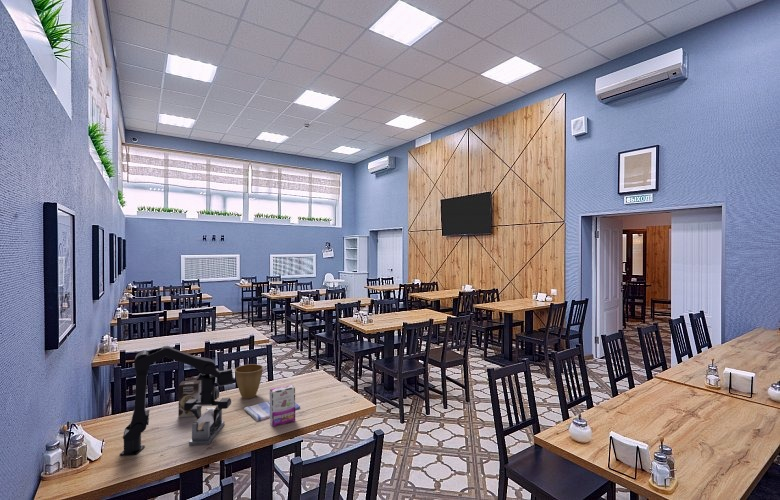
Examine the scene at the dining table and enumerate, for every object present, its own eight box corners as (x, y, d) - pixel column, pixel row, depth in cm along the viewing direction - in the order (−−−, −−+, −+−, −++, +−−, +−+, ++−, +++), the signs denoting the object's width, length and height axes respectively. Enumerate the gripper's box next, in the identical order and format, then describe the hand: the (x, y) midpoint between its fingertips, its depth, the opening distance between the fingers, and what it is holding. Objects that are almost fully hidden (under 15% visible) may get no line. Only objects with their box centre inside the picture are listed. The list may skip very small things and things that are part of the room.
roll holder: (208, 444, 157) (208, 424, 157) (188, 445, 156) (189, 425, 156) (224, 423, 176) (224, 405, 176) (206, 424, 175) (206, 406, 175)
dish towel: (243, 411, 191) (243, 406, 191) (286, 399, 206) (286, 394, 206) (255, 423, 178) (255, 417, 178) (300, 409, 193) (300, 404, 193)
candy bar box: (292, 417, 183) (292, 384, 183) (295, 421, 179) (295, 387, 179) (269, 423, 177) (269, 388, 177) (272, 427, 172) (272, 391, 173)
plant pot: (228, 399, 205) (228, 370, 205) (248, 390, 219) (248, 362, 219) (249, 403, 199) (249, 373, 200) (268, 393, 213) (268, 365, 213)
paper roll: (206, 435, 157) (206, 421, 157) (191, 435, 157) (191, 421, 157) (221, 416, 175) (221, 403, 175) (208, 417, 175) (208, 404, 175)
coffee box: (177, 418, 182) (178, 385, 182) (181, 412, 188) (181, 380, 188) (198, 415, 184) (198, 383, 184) (201, 410, 190) (201, 379, 190)
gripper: (235, 381, 175) (235, 414, 175) (193, 382, 173) (193, 415, 173) (227, 389, 164) (226, 425, 164) (182, 391, 162) (182, 427, 162)
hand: (207, 422), depth 166 cm, fingers closed on paper roll, 6 cm apart
